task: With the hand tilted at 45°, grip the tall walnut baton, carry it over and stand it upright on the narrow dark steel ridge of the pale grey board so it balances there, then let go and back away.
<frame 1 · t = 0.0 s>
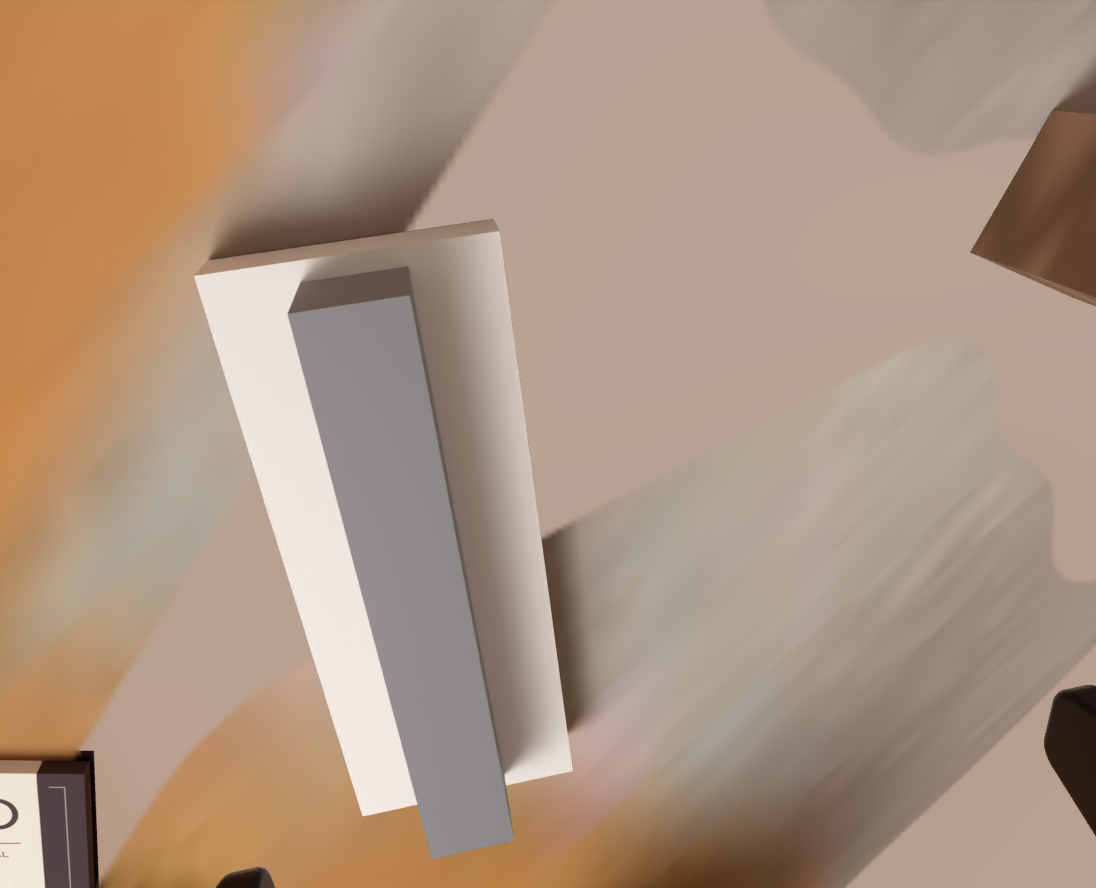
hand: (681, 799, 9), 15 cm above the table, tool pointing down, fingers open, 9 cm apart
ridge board: (418, 542, 24), on the table
walnut baton: (1063, 209, 23), on the table
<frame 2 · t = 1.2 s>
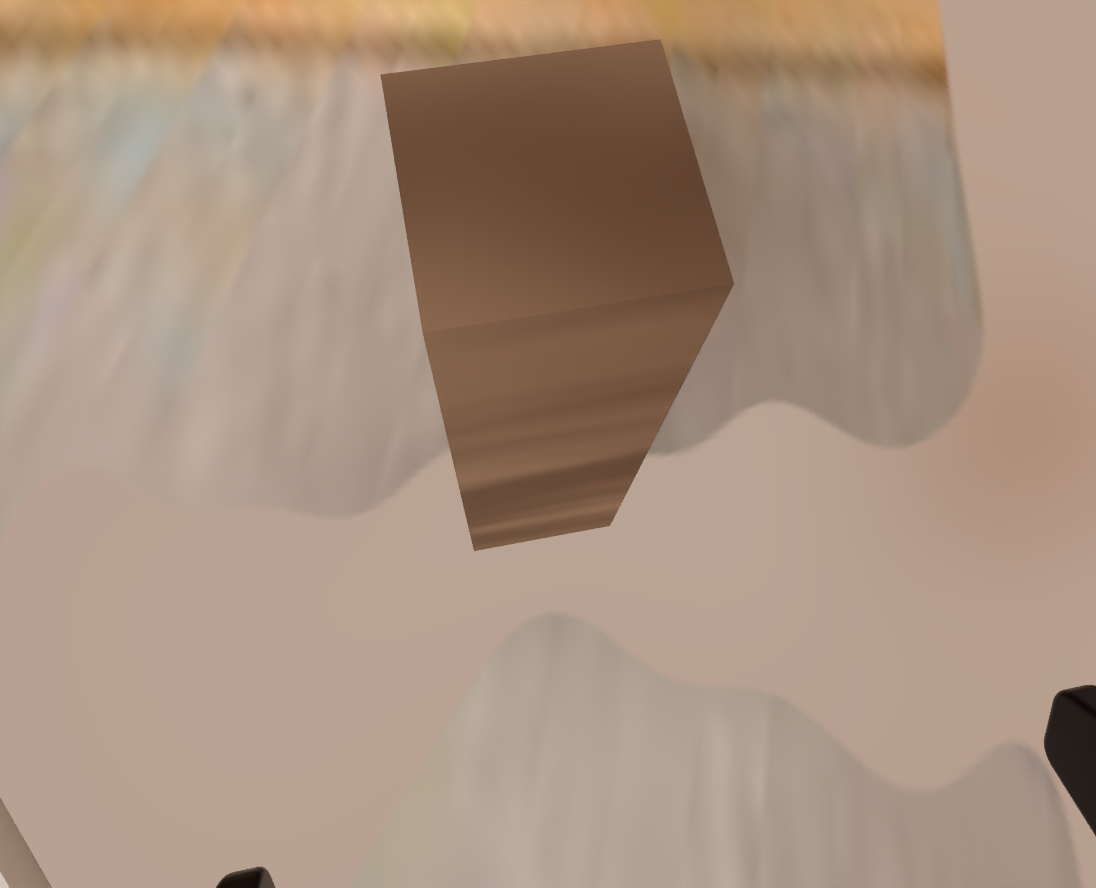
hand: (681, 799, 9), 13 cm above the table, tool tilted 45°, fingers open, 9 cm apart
walnut baton: (529, 472, 24), on the table
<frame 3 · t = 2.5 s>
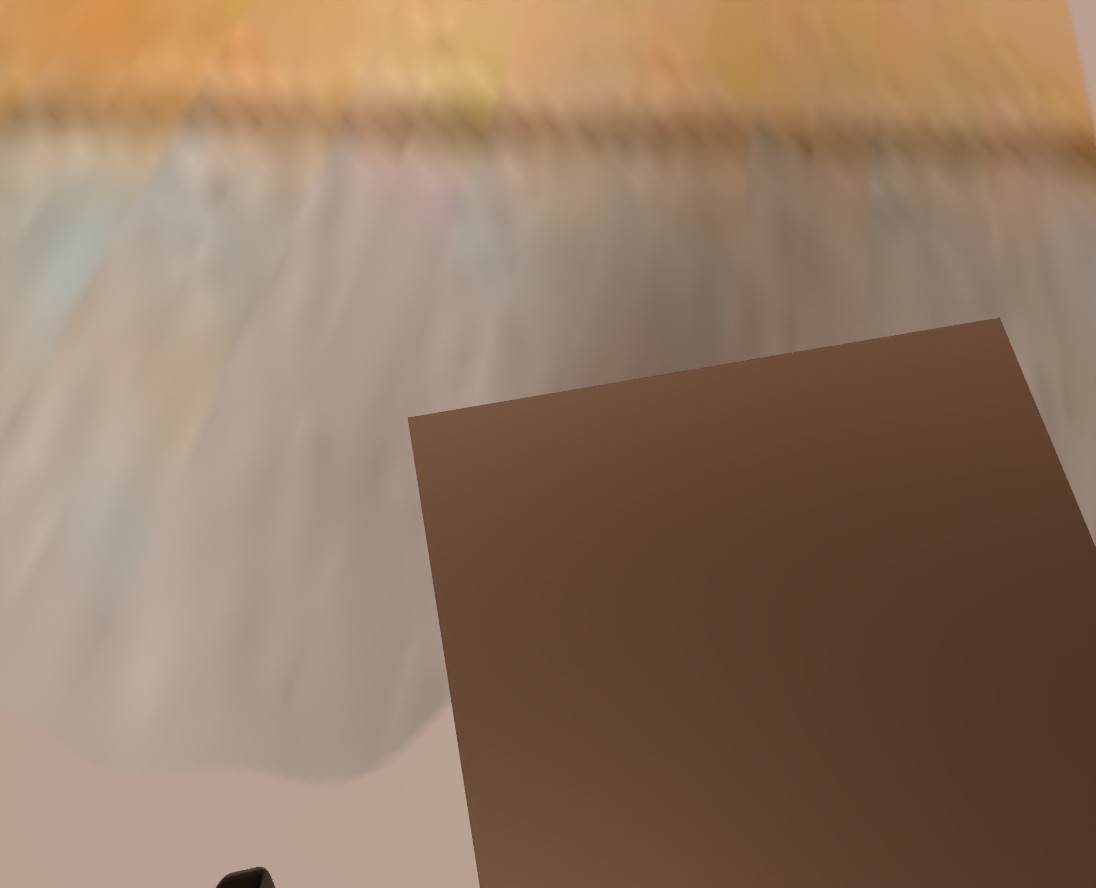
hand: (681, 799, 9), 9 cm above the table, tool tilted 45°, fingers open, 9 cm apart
walnut baton: (589, 712, 18), on the table
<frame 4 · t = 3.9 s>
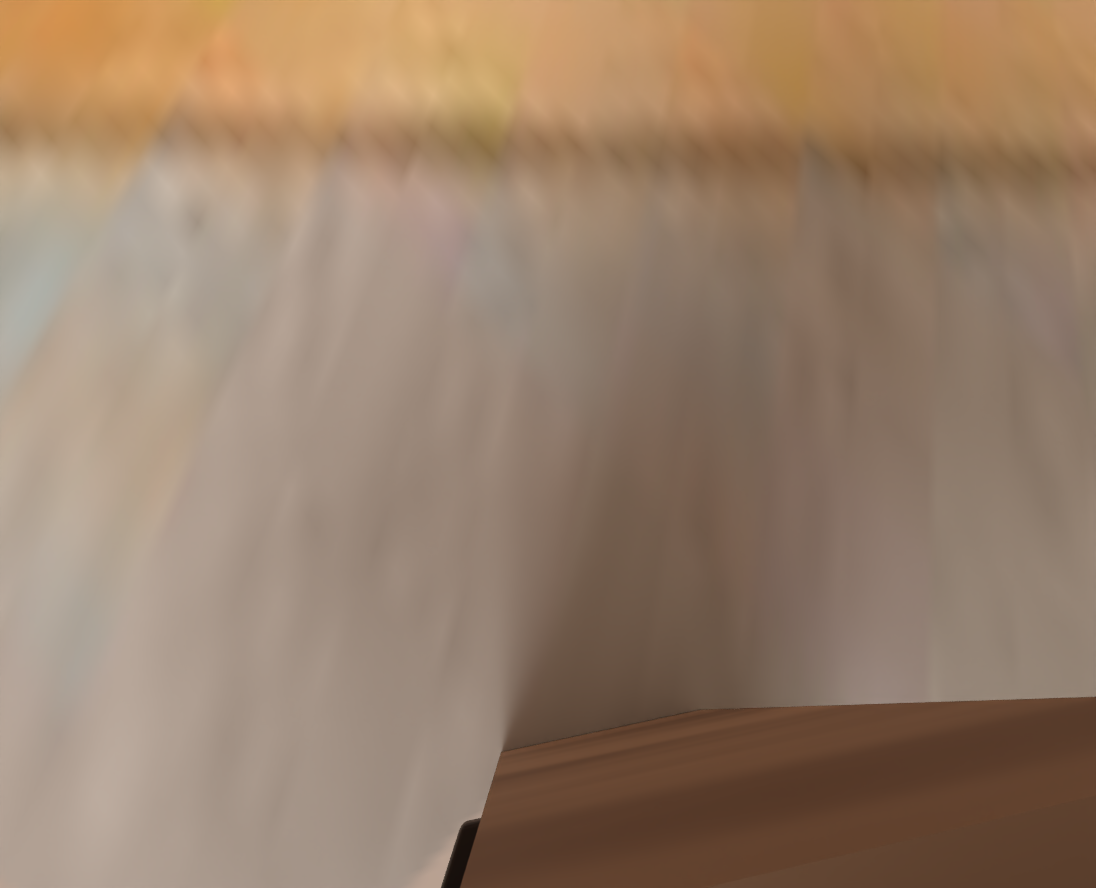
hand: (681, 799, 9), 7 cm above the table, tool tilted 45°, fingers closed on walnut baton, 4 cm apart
walnut baton: (624, 841, 15), on the table, touching gripper
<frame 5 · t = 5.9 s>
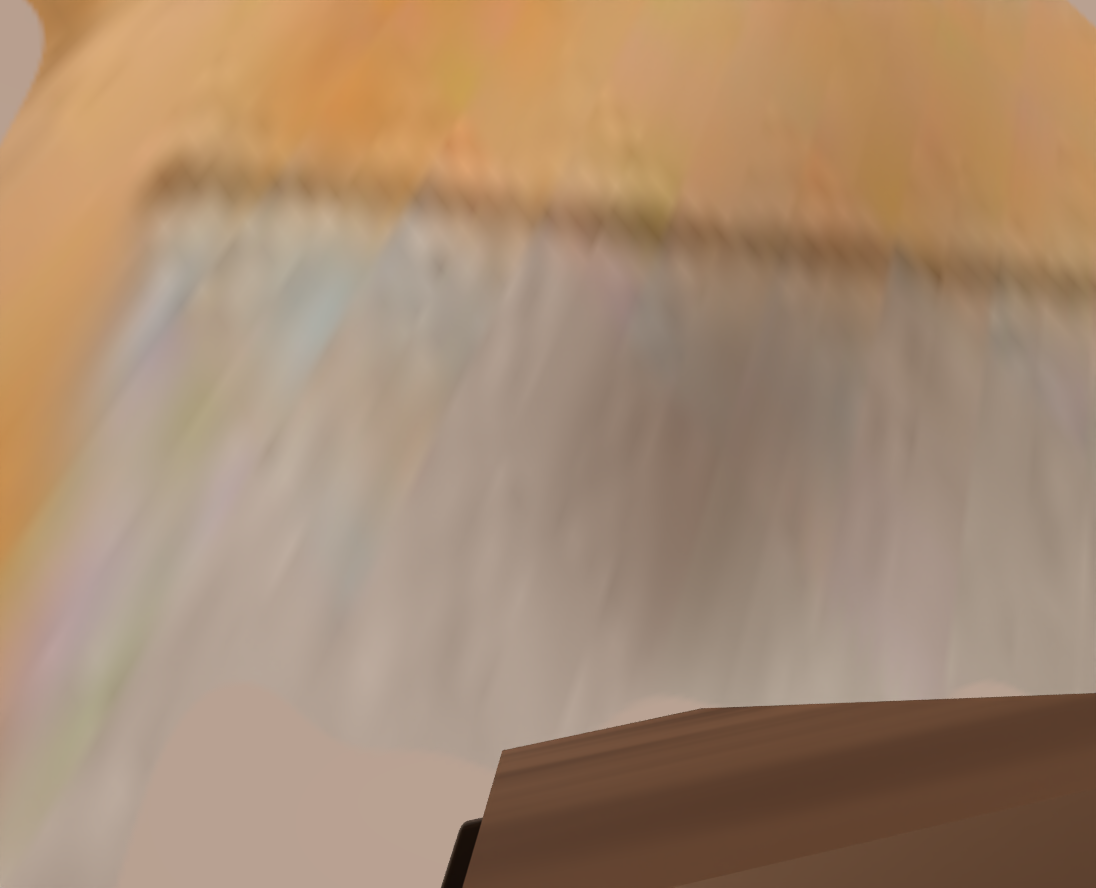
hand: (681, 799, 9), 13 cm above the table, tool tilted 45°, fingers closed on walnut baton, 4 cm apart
walnut baton: (625, 839, 15), point 6 cm above the table, touching gripper
when the fingers open (12 cm above the table, at t = 7.9 s): walnut baton stays where it is, resting on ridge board.
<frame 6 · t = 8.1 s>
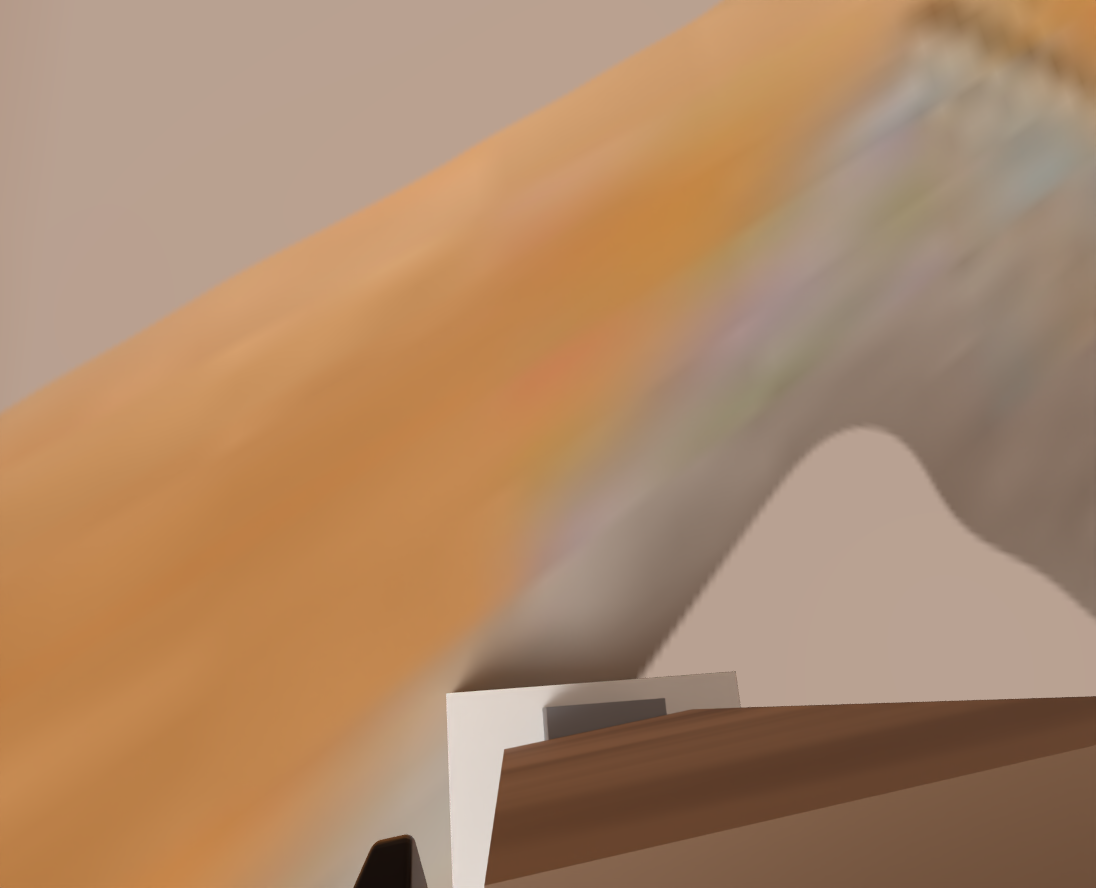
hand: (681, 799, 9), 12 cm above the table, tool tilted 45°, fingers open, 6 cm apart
walnut baton: (620, 833, 16), point 4 cm above the table, touching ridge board
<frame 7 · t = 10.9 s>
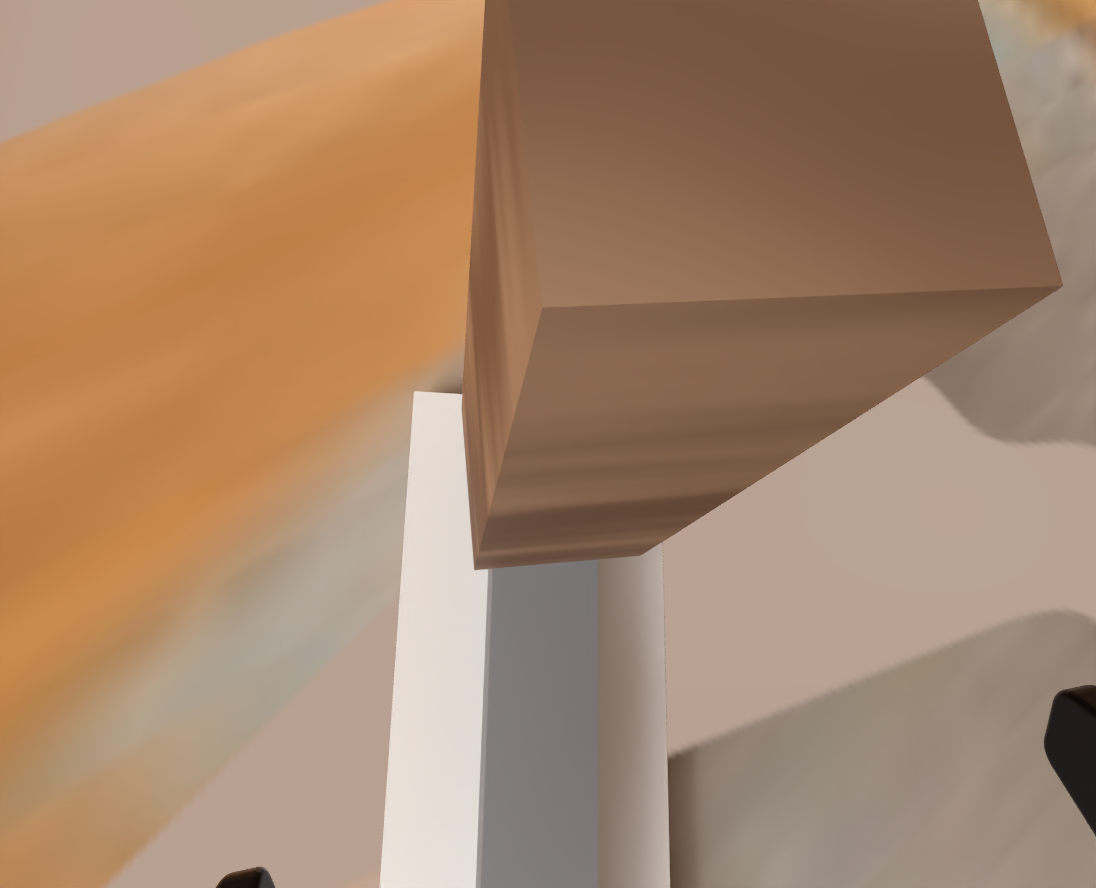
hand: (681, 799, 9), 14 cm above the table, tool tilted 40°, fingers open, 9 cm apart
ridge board: (525, 732, 22), on the table
walnut baton: (549, 480, 20), point 4 cm above the table, touching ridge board
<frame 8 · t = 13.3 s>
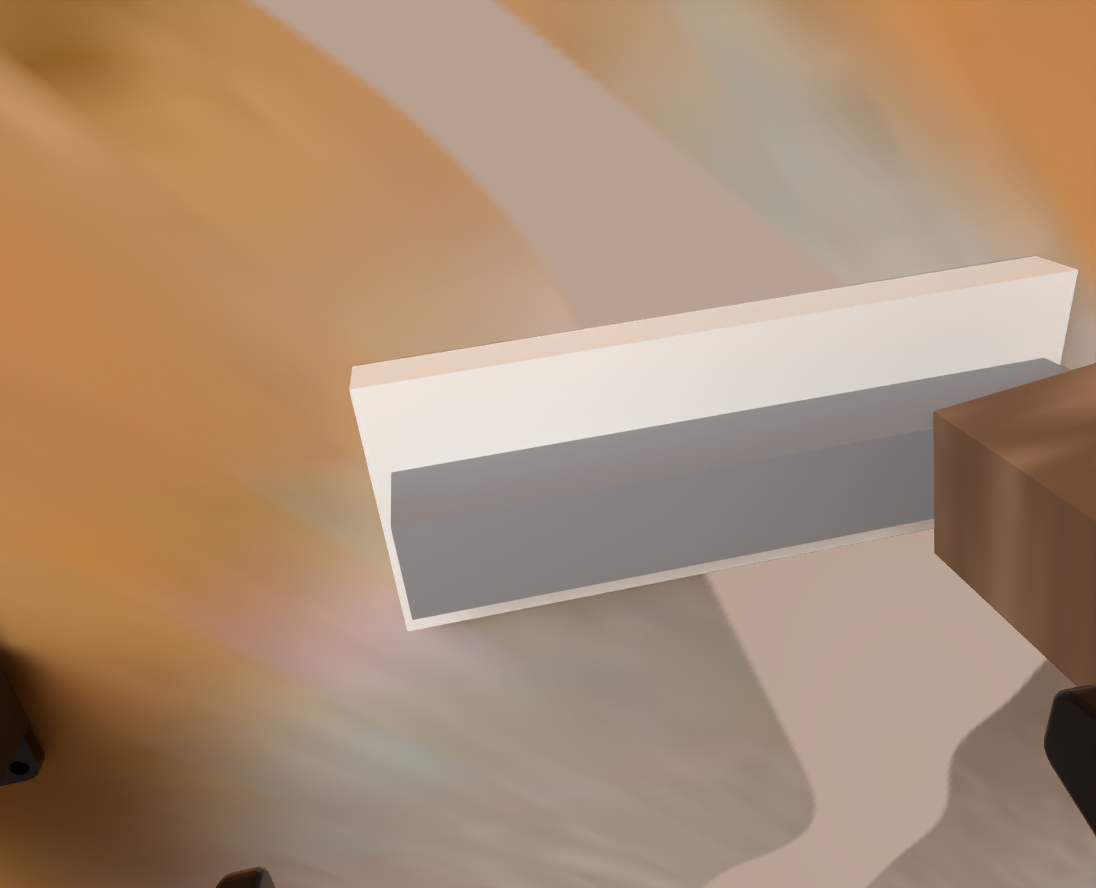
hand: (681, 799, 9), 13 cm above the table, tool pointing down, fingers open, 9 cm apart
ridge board: (711, 432, 22), on the table
walnut baton: (1013, 461, 19), point 4 cm above the table, touching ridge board
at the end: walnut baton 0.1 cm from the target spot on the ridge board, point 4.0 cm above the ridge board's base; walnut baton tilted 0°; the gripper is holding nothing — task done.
